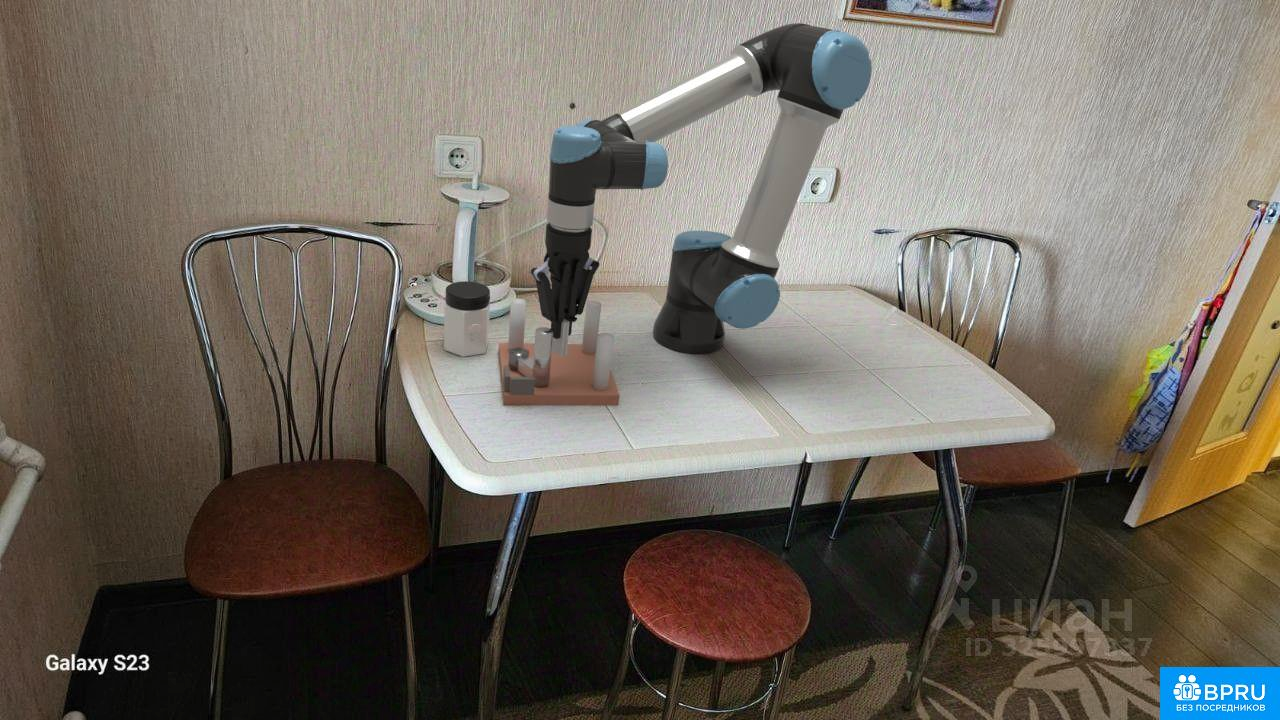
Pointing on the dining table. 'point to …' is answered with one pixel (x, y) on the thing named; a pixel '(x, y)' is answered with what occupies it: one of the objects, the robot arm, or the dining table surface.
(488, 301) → the jar
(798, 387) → the dining table surface
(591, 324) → the seat
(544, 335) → the shiny metal angled handle
